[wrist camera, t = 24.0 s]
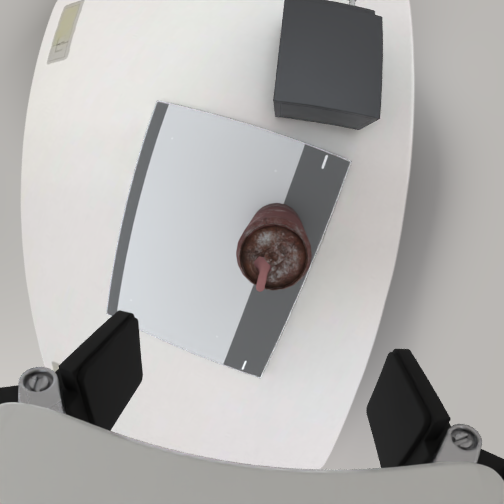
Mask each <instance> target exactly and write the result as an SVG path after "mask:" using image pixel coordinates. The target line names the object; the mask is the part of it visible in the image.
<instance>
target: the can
mask: <svg viewBox="0 0 504 504" xmlns="http://www.w3.org/2000/svg"><path fill="white" fill-rule="evenodd" d="M236 257H237V263H238V266H239V268H240V270H241V272H242V274H243V275H244V276H245V277H246V278H247V279H248V280H249V281H250V282H251V283H252V284H254V285H256V290H257V291H259V292H261V291H263V290H264V289H267V290H282V289H286V288H288V287H291V286H293V285H295V284H296V283H297V282H298V281H300V280H301V279H302V278H303V277H304V275H305V274H306V272H307V270H308V269H309V266H310V262H311V258H312V254H311V245H310V242H309V240H308V237H307V235H306V232H305V230H304V227H303V225H302V222H301V220H300V218H299V216H298V214H297V213H296V212H295V211H294V210H293V209H292V208H291V207H289V206H287V205H285V204H280V203H272V204H268V205H266V206H263V207H262V208H261V209H259V210H258V211H257V212H256V214H255V215H254V217H253V218H252V220H251V221H250V223H249V224H248V226H247V227H246V229H245V230H244V232H243V234H242V235H241V237H240V239H239V241H238V245H237V250H236Z"/></svg>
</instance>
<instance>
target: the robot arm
mask: <svg viewBox="0 0 504 504" xmlns="http://www.w3.org/2000/svg"><path fill="white" fill-rule="evenodd" d="M142 377H143V373H142V363H141V351H140V338H139V323H138V319H137V318H135V316H134V314H133V313H129V312H125V311H121V310H119V311H117V312H116V313H115V314H114V315H113V316H112V317H111V318H109V319H108V320H107V321H106V322H105V323H104V324H103V325H102V326H101V327H100V328H98V329H97V330H96V331H95V332H94V333H93V334H92V335H91V336H90V337H89V338H88V339H87V340H86V341H84V342H83V343H82V344H81V345H80V346H79V347H78V348H77V349H76V350H75V351H74V352H73V353H72V354H71V355H70V356H69V357H68V358H66V359H65V360H64V361H63V362H62V363H61V364H60V365H59V369H58V370H57V371H56V372H54V371H53V370H51V369H49V368H45V367H36V368H31V369H29V370H27V371H25V372H24V373H23V374H22V375H21V377H20V379H19V385H18V386H11V387H2V388H0V504H504V459H502V458H500V457H497V456H496V455H493V454H491V453H489V452H487V451H484V450H482V449H481V446H482V439H481V436H480V434H479V433H478V431H476V430H475V429H474V428H473V427H470V426H469V425H465V424H456V425H453V426H452V427H451V426H450V424H449V421H450V417H449V415H448V414H447V412H446V410H445V408H444V406H443V404H442V403H441V401H440V399H439V397H438V396H437V394H436V392H435V391H434V389H433V387H432V385H431V384H430V382H429V380H428V379H427V377H426V375H425V374H424V372H423V370H422V369H421V367H420V366H419V364H418V362H417V361H416V359H415V358H414V356H413V355H412V353H411V351H410V350H409V349H394V350H393V352H390V353H389V354H388V356H387V359H386V361H385V364H384V366H383V369H382V372H381V374H380V377H379V379H378V382H377V384H376V387H375V389H374V391H373V394H372V396H371V398H370V401H369V403H368V405H367V416H368V420H369V423H370V427H371V430H372V434H373V438H374V441H375V445H376V449H377V453H378V457H379V461H380V465H381V468H373V469H352V470H316V469H294V468H280V467H269V466H260V465H251V464H244V463H237V462H230V461H224V460H219V459H213V458H208V457H203V456H198V455H193V454H189V453H184V452H180V451H176V450H172V449H168V448H164V447H160V446H157V445H153V444H150V443H146V442H143V441H140V440H136V439H133V438H130V437H127V436H124V435H121V434H118V433H115V432H112V431H110V430H111V429H112V427H113V426H114V424H115V422H116V421H117V419H118V418H119V416H120V415H121V413H122V411H123V410H124V408H125V407H126V405H127V404H128V402H129V400H130V399H131V397H132V396H133V394H134V393H135V391H136V389H137V388H138V386H139V385H140V383H141V381H142Z"/></svg>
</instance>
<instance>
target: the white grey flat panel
mask: <svg viewBox="0 0 504 504" xmlns="http://www.w3.org/2000/svg"><path fill="white" fill-rule="evenodd" d="M351 162H352V161H350V160H348V159H345V158H343V157H340V156H338V155H335V154H333V153H330V152H328V151H325V150H323V149H320V148H318V147H315V146H312V145H310V144H307V143H304V142H301V141H299V140H296V139H293V138H290V137H287V136H285V135H282V134H279V133H276V132H273V131H270V130H267V129H264V128H260V127H257V126H254V125H251V124H248V123H244V122H241V121H237V120H234V119H231V118H227V117H223V116H220V115H216V114H212V113H209V112H205V111H201V110H197V109H193V108H189V107H185V106H180V105H176V104H172V103H167V102H162V101H158V100H157V102H156V104H155V107H154V110H153V113H152V116H151V119H150V122H149V125H148V128H147V131H146V134H145V137H144V140H143V143H142V146H141V150H140V153H139V156H138V160H137V163H136V167H135V170H134V174H133V178H132V181H131V185H130V189H129V193H128V197H127V201H126V205H125V210H124V214H123V218H122V223H121V228H120V232H119V237H118V242H117V247H116V253H115V258H114V264H113V270H112V276H111V282H110V289H109V296H108V303H107V311H106V314H108V315H110V316H113V315H114V314H115V313H116V312H117V311H119V310H121V311H125V312H129V313H133V314H134V316H135V318H137V319H138V323H139V330H141V331H143V332H145V333H147V334H149V335H151V336H154V337H156V338H158V339H160V340H163V341H165V342H167V343H169V344H172V345H174V346H176V347H179V348H181V349H183V350H186V351H188V352H191V353H193V354H196V355H198V356H201V357H203V358H206V359H208V360H211V361H213V362H216V363H219V364H221V365H224V366H227V367H229V368H232V369H235V370H238V371H240V372H243V373H246V374H249V375H252V376H255V377H258V378H261V376H262V374H263V372H264V370H265V368H266V366H267V364H268V362H269V360H270V358H271V356H272V353H273V351H274V349H275V347H276V345H277V343H278V341H279V338H280V336H281V334H282V332H283V330H284V328H285V325H286V323H287V321H288V319H289V316H290V314H291V312H292V310H293V308H294V305H295V303H296V301H297V298H298V296H299V294H300V292H301V289H302V287H303V285H304V282H305V280H306V277H307V275H308V273H309V270H310V268H311V266H312V263H313V261H314V258H315V256H316V253H317V251H318V249H319V246H320V244H321V241H322V239H323V236H324V234H325V231H326V229H327V226H328V224H329V221H330V218H331V216H332V213H333V211H334V208H335V205H336V203H337V200H338V197H339V195H340V192H341V189H342V187H343V184H344V181H345V179H346V176H347V173H348V170H349V167H350V165H351ZM272 203H280V204H285V205H287V206H289V207H291V208H292V209H293V210H294V211H295V212H296V213H297V214H298V216H299V218H300V220H301V222H302V225H303V227H304V230H305V232H306V235H307V237H308V240H309V242H310V245H311V254H312V258H311V262H310V266H309V269H308V270H307V272H306V274H305V275H304V277H303V278H302V279H301V280H300V281H298V282H297V283H296V284H295V285H293V286H291V287H288V288H286V289H282V290H267V289H264V290H263V291H261V292H259V291H257V290H256V285H254V284H252V283H251V282H250V281H249V280H248V279H247V278H246V277H245V276H244V275H243V274H242V272H241V270H240V268H239V266H238V263H237V257H236V250H237V245H238V241H239V239H240V237H241V235H242V234H243V232H244V230H245V229H246V227H247V226H248V224H249V223H250V221H251V220H252V218H253V217H254V215H255V214H256V212H257V211H258V210H259V209H261V208H262V207H263V206H266V205H268V204H272Z"/></svg>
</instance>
